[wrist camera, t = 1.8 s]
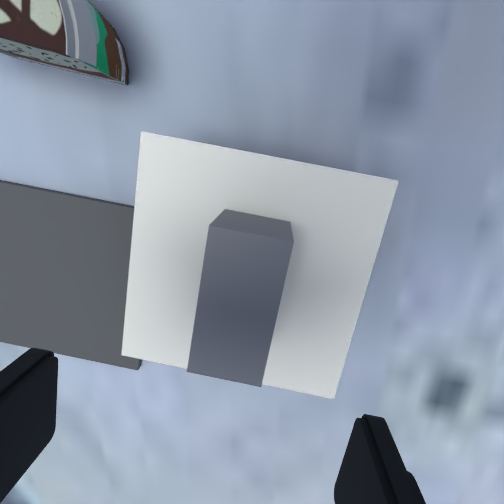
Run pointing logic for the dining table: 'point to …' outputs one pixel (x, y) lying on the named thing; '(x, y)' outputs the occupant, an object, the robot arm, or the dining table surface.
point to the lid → (249, 263)
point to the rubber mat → (64, 273)
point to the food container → (63, 37)
